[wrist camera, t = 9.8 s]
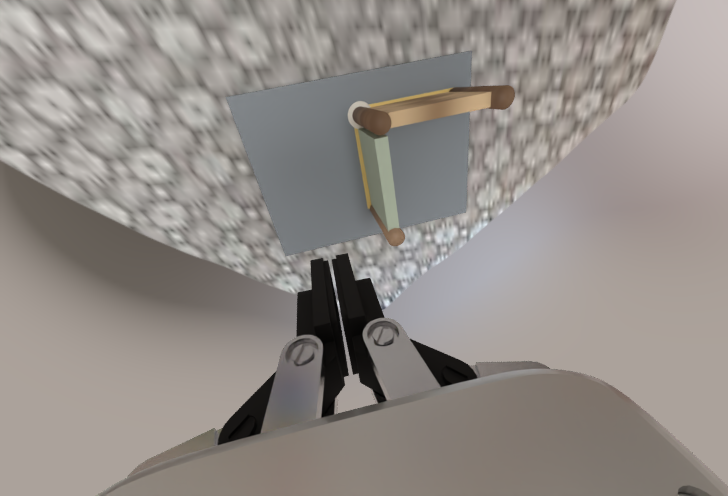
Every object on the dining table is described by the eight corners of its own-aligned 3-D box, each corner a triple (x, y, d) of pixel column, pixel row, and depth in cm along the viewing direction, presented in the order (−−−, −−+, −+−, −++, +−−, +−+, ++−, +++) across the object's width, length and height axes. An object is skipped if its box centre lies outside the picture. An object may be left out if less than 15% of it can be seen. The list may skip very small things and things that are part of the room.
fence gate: (355, 129, 30) (372, 141, 23) (370, 125, 30) (393, 136, 23) (371, 216, 36) (389, 247, 28) (384, 212, 36) (405, 243, 28)
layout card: (469, 51, 29) (472, 50, 29) (464, 211, 39) (466, 212, 39) (226, 97, 27) (225, 97, 27) (285, 254, 37) (285, 256, 37)
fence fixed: (461, 85, 31) (516, 83, 23) (461, 103, 31) (513, 107, 24) (350, 108, 29) (368, 113, 22) (353, 125, 30) (371, 137, 23)
